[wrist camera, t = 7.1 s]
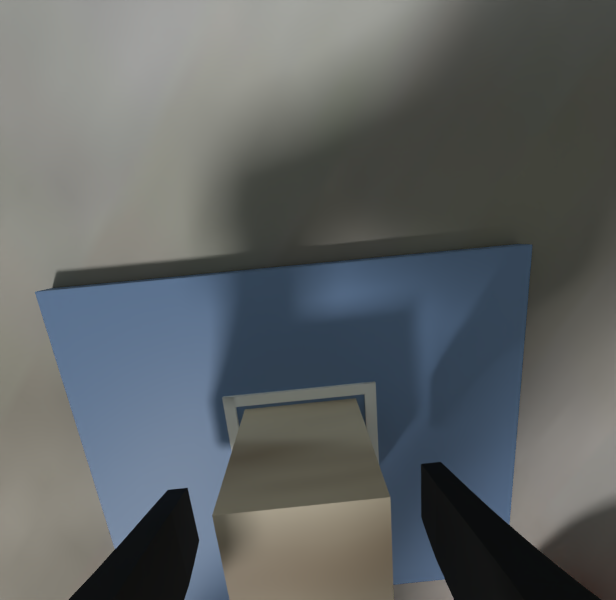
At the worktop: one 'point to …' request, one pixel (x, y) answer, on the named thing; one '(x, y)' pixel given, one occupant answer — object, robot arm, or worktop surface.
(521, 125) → the worktop surface
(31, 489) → the worktop surface
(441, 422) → the board
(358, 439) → the maple block
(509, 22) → the worktop surface
